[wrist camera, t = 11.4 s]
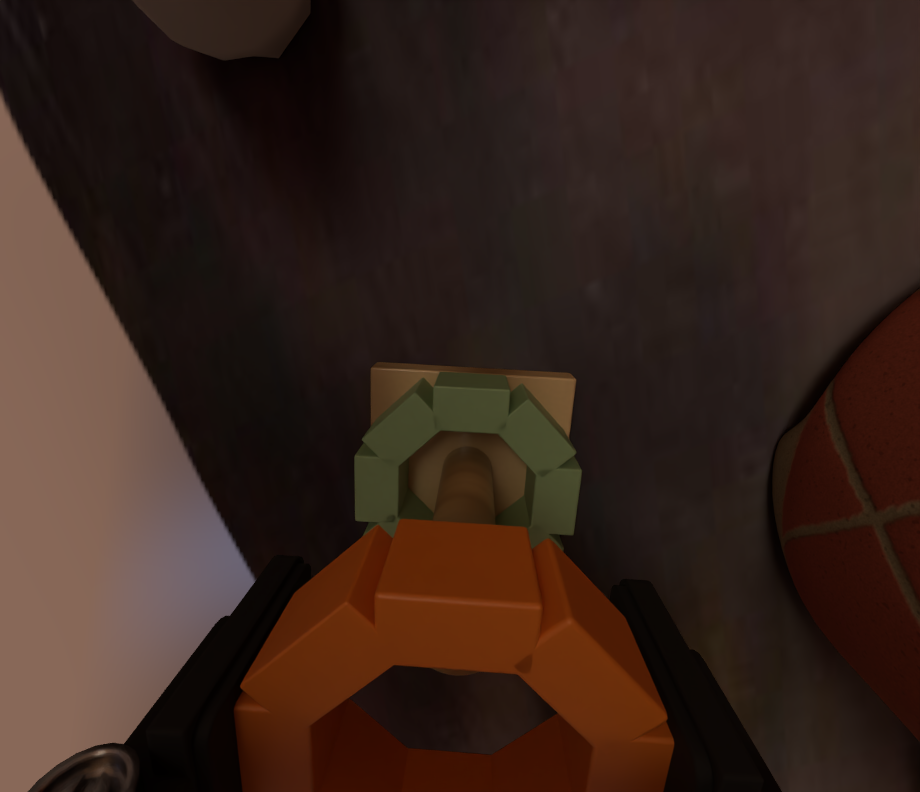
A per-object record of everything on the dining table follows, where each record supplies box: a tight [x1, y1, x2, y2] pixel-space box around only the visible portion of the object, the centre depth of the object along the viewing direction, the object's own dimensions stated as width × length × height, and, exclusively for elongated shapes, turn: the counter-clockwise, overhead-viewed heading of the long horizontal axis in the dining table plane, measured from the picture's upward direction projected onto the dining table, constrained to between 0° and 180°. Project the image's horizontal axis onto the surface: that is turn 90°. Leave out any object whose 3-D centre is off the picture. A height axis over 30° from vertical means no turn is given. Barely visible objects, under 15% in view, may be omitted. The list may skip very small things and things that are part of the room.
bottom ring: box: [354, 372, 582, 551], centre depth 17 cm, size 8×8×2 cm
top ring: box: [234, 519, 674, 792], centre depth 8 cm, size 7×7×2 cm
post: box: [371, 362, 576, 676], centre depth 14 cm, size 8×8×10 cm
